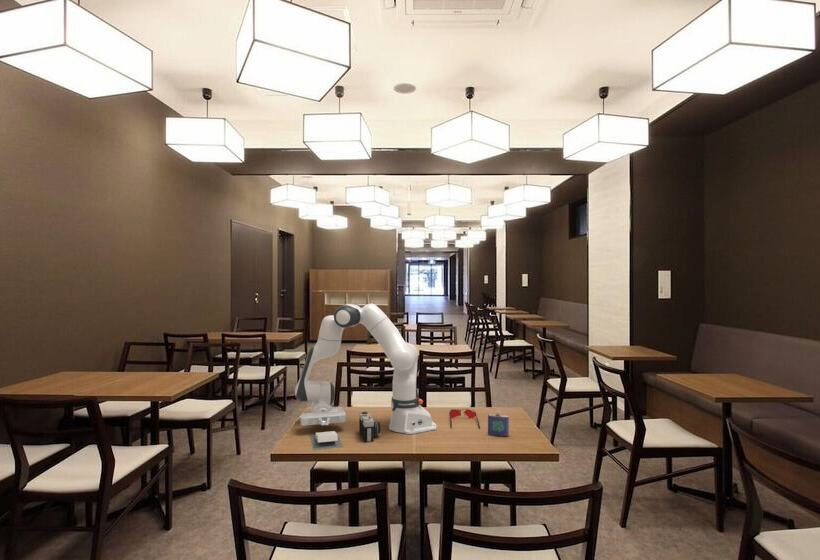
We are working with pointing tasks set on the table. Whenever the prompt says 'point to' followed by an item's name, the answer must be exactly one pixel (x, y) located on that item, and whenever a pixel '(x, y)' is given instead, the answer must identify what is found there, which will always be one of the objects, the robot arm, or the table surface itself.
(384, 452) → the table surface
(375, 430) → the camera
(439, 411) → the table surface
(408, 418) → the robot arm
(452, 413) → the glasses
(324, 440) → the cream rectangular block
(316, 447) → the mat
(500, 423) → the flask
